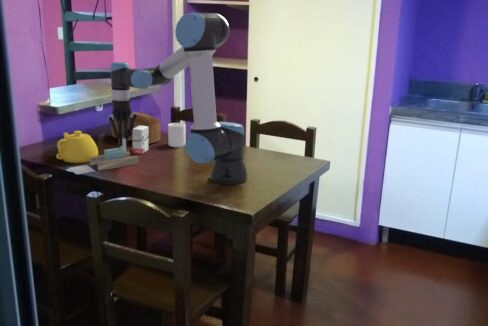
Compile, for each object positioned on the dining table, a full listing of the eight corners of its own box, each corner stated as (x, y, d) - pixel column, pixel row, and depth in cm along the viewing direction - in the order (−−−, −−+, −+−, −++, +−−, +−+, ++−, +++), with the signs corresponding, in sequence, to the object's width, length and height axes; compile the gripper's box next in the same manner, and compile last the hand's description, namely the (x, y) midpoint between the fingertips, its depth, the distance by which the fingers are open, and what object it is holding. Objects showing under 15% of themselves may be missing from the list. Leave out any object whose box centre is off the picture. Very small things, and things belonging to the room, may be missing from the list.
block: (125, 163, 215) (124, 150, 213) (109, 166, 211) (109, 152, 209) (119, 160, 219) (119, 147, 217) (104, 163, 215) (103, 150, 213)
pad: (95, 171, 205) (95, 171, 205) (76, 174, 200) (76, 174, 200) (86, 165, 213) (86, 164, 212) (68, 168, 208) (68, 167, 208)
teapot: (105, 159, 222) (104, 131, 219) (66, 167, 209) (64, 138, 205) (82, 150, 235) (80, 124, 232) (44, 157, 222) (41, 130, 218)
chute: (138, 164, 217) (138, 156, 215) (99, 170, 206) (98, 162, 205) (128, 158, 224) (128, 151, 223) (90, 164, 213) (89, 157, 212)
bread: (149, 146, 246) (148, 118, 242) (107, 138, 259) (106, 111, 255) (164, 141, 256) (164, 114, 252) (124, 134, 269) (123, 108, 265)
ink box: (142, 154, 231) (141, 129, 228) (132, 153, 232) (131, 128, 229) (149, 149, 240) (148, 125, 236) (139, 148, 241) (138, 125, 237)
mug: (192, 143, 254) (192, 122, 251) (179, 148, 244) (179, 127, 240) (178, 141, 257) (177, 120, 254) (165, 146, 247) (164, 125, 244)
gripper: (131, 96, 216) (133, 148, 223) (102, 99, 208) (105, 152, 215) (139, 99, 210) (140, 152, 217) (110, 101, 203) (112, 156, 210)
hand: (123, 152), depth 216 cm, fingers closed
